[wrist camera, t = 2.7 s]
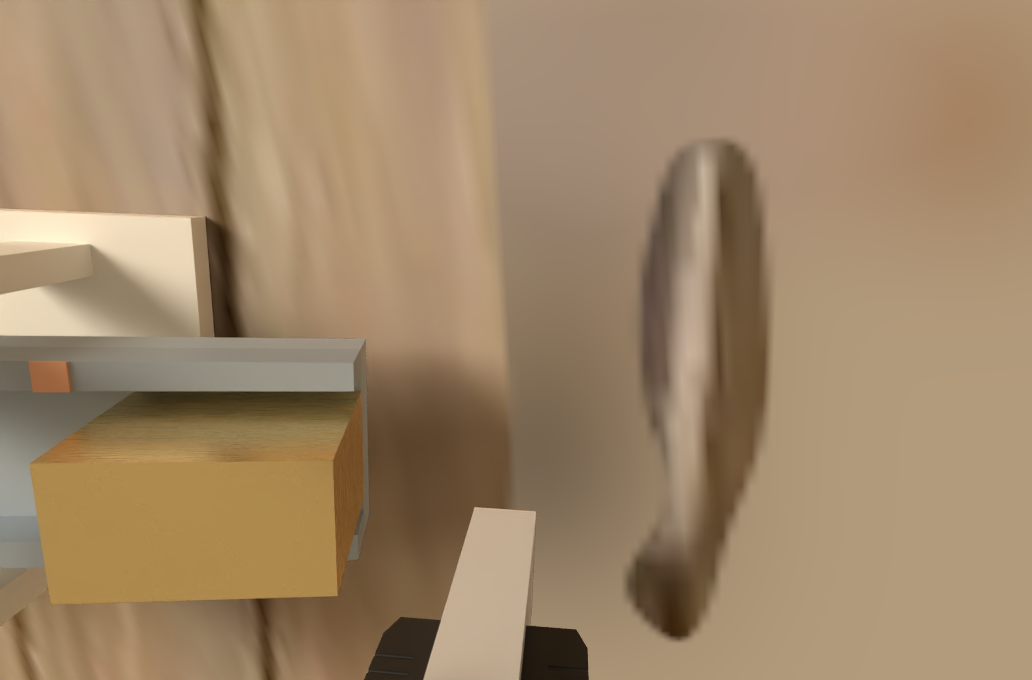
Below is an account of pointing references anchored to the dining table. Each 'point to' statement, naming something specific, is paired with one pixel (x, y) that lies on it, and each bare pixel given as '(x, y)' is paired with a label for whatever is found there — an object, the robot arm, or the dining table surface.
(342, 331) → the dining table surface
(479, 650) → the robot arm
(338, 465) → the block
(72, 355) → the beam
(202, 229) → the stand
